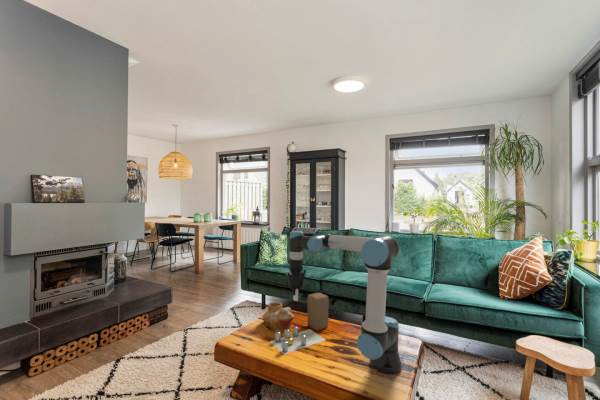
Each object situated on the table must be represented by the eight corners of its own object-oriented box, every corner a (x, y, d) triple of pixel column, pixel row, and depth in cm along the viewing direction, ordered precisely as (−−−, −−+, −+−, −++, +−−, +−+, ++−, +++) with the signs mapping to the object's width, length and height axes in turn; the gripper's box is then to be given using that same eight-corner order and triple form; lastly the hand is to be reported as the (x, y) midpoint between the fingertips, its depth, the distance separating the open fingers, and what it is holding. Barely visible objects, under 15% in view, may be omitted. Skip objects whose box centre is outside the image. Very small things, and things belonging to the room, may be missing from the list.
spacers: (310, 344, 162) (310, 335, 162) (284, 353, 152) (284, 343, 152) (296, 334, 173) (296, 325, 173) (271, 341, 164) (271, 333, 164)
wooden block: (319, 321, 193) (319, 291, 193) (328, 327, 185) (329, 296, 185) (306, 325, 187) (307, 294, 187) (316, 331, 179) (316, 299, 179)
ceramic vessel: (280, 339, 169) (280, 313, 169) (258, 323, 190) (258, 300, 190) (299, 332, 177) (300, 308, 177) (276, 318, 198) (277, 296, 198)
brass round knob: (295, 344, 162) (295, 338, 162) (287, 346, 159) (287, 340, 159) (290, 340, 166) (290, 335, 166) (282, 342, 163) (283, 337, 163)
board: (326, 341, 167) (326, 339, 167) (284, 356, 151) (284, 354, 151) (309, 330, 180) (309, 329, 180) (269, 343, 164) (269, 341, 164)
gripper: (301, 256, 170) (301, 296, 171) (282, 258, 163) (282, 300, 163) (309, 258, 164) (308, 300, 165) (289, 261, 157) (289, 304, 157)
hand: (295, 300), depth 164 cm, fingers closed
